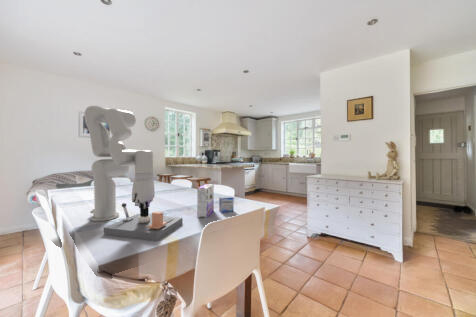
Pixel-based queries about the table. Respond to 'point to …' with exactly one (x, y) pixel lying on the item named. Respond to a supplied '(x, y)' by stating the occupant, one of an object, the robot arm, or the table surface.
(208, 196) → the candy box
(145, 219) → the push button
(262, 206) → the table surface
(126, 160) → the robot arm
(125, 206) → the toggle lever
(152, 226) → the block
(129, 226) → the control board
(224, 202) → the medicine box
